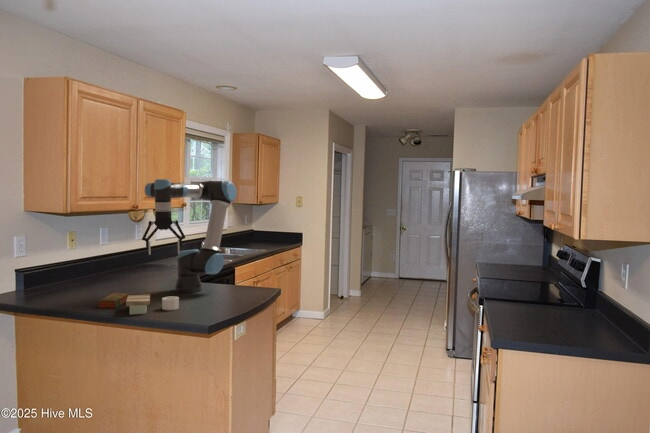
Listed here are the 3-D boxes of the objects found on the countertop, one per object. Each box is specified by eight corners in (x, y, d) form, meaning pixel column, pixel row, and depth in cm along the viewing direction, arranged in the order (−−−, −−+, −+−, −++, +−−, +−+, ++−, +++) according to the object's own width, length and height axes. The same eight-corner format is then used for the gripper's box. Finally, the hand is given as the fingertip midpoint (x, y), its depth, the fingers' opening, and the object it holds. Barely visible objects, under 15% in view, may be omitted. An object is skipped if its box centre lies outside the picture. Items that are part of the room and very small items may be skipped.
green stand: (131, 307, 240) (131, 298, 240) (146, 306, 242) (146, 298, 242) (129, 314, 226) (129, 305, 225) (145, 313, 228) (145, 305, 228)
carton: (128, 301, 254) (128, 293, 254) (115, 308, 238) (115, 300, 238) (112, 301, 254) (112, 292, 254) (98, 308, 238) (98, 299, 237)
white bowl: (162, 307, 241) (162, 296, 241) (178, 306, 243) (178, 296, 243) (162, 310, 234) (162, 300, 233) (179, 309, 236) (179, 299, 236)
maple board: (128, 299, 239) (128, 295, 239) (150, 298, 242) (150, 294, 242) (126, 306, 225) (126, 302, 225) (149, 304, 228) (149, 300, 228)
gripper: (135, 211, 234) (136, 256, 236) (189, 210, 242) (190, 253, 244) (136, 210, 242) (137, 253, 243) (189, 209, 249) (190, 251, 251)
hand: (164, 253), depth 244 cm, fingers open, 13 cm apart
